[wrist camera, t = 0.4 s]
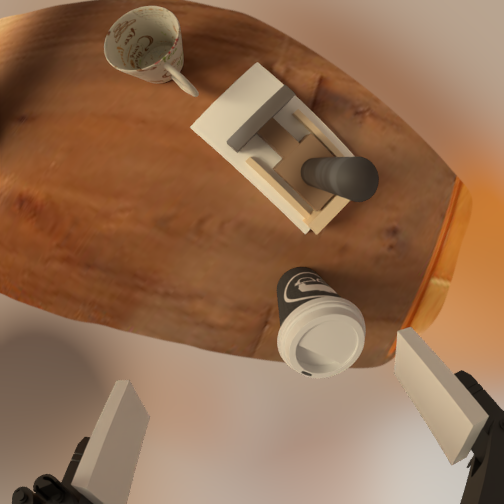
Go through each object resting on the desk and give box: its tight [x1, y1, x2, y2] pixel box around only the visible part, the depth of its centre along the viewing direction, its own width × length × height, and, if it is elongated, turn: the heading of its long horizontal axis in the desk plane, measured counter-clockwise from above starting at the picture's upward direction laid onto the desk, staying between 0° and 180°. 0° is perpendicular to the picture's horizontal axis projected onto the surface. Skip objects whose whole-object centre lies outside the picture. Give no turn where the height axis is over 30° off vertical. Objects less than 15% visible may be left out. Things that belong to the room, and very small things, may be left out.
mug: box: [104, 6, 199, 97], centre depth 28 cm, size 8×13×10 cm, turn 44°
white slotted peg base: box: [190, 62, 355, 234], centre depth 34 cm, size 20×12×4 cm, turn 46°
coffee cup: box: [277, 267, 365, 378], centre depth 35 cm, size 10×10×15 cm
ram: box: [226, 85, 379, 211], centre depth 28 cm, size 13×9×16 cm
